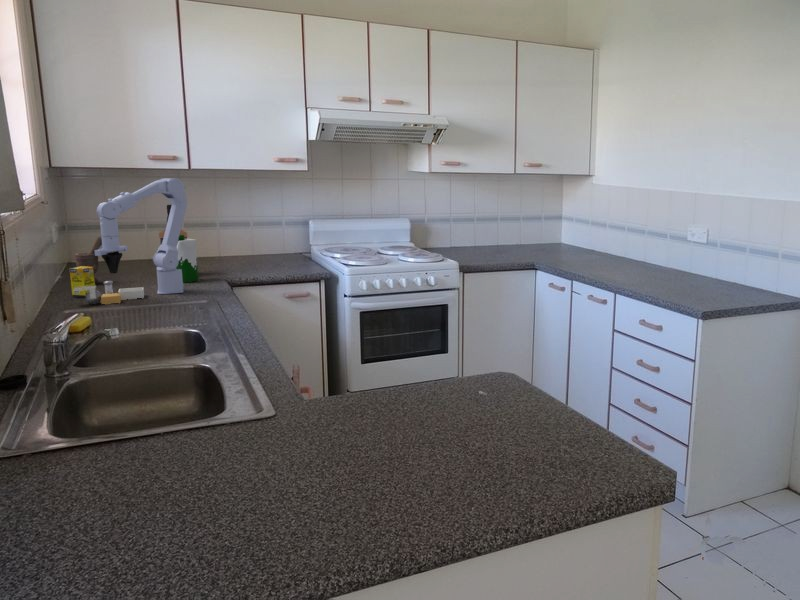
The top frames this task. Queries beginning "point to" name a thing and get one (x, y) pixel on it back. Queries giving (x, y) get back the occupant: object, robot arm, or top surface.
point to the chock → (110, 298)
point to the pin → (108, 287)
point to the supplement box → (81, 279)
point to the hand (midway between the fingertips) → (113, 273)
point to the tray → (131, 293)
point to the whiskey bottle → (161, 234)
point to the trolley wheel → (90, 294)
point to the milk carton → (187, 259)
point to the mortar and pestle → (89, 258)
